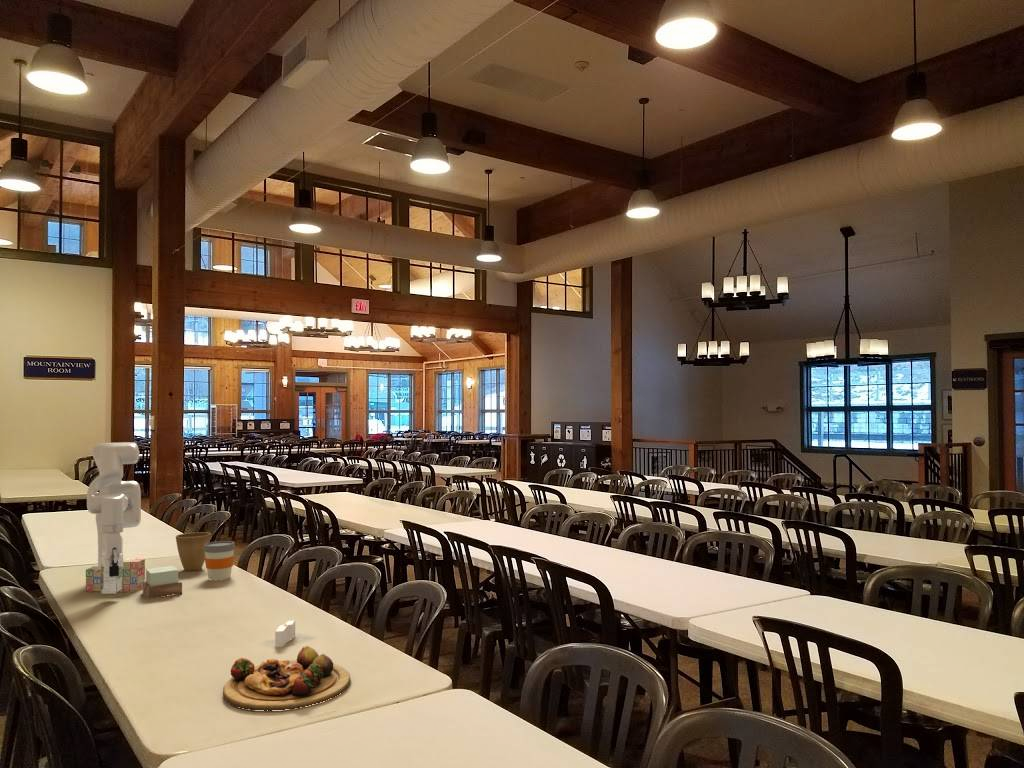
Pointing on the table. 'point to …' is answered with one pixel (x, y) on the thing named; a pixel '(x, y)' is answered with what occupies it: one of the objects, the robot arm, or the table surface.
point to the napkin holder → (284, 633)
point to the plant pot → (192, 549)
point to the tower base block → (162, 589)
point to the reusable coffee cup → (219, 559)
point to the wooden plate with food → (285, 682)
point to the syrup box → (111, 583)
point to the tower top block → (161, 575)
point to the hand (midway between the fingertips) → (112, 573)
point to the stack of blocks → (131, 576)
